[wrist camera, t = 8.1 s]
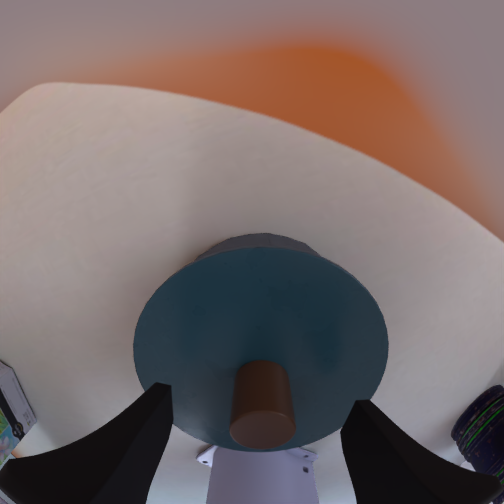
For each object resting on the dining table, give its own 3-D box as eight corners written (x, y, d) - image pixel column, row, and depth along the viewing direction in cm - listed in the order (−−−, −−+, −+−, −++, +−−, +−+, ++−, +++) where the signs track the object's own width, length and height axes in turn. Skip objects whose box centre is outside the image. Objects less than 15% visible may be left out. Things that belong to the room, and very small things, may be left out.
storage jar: (438, 446, 22) (478, 520, 7) (475, 391, 20) (537, 468, 5) (480, 429, 22) (520, 488, 7) (512, 378, 20) (567, 434, 5)
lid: (419, 334, 12) (463, 378, 8) (276, 458, 14) (278, 509, 10) (234, 181, 10) (218, 174, 6) (109, 369, 13) (74, 417, 8)
